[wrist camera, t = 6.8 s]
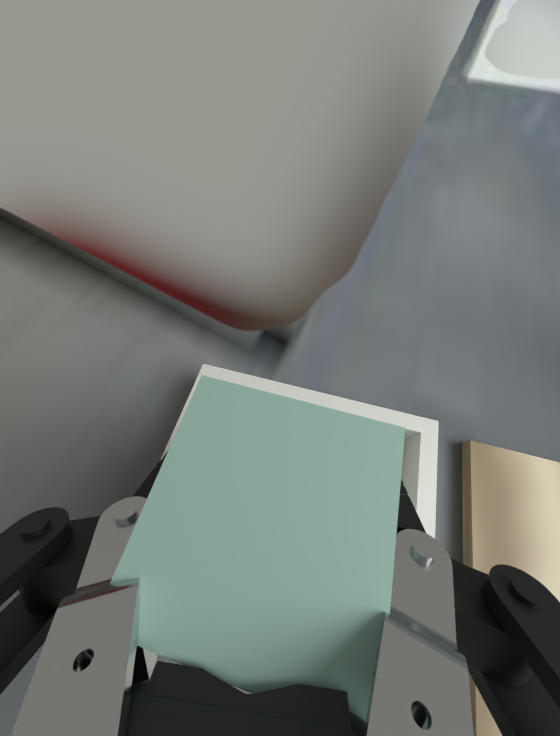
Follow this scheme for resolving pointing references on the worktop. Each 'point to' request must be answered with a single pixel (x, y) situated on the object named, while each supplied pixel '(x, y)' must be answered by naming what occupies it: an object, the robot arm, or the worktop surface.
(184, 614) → the carton
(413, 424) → the tray
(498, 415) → the worktop surface
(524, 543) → the board
